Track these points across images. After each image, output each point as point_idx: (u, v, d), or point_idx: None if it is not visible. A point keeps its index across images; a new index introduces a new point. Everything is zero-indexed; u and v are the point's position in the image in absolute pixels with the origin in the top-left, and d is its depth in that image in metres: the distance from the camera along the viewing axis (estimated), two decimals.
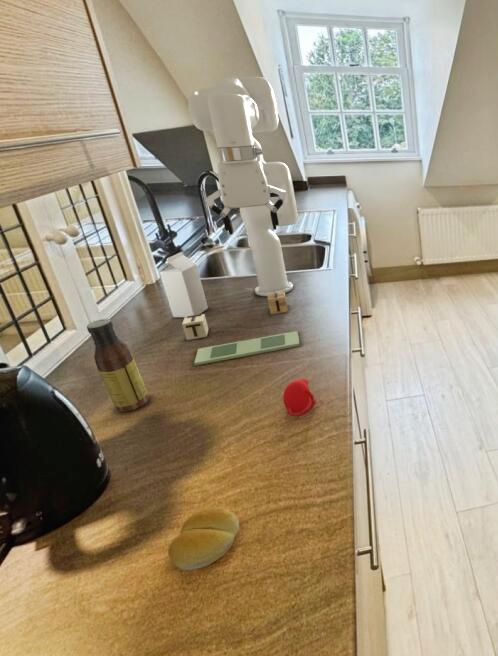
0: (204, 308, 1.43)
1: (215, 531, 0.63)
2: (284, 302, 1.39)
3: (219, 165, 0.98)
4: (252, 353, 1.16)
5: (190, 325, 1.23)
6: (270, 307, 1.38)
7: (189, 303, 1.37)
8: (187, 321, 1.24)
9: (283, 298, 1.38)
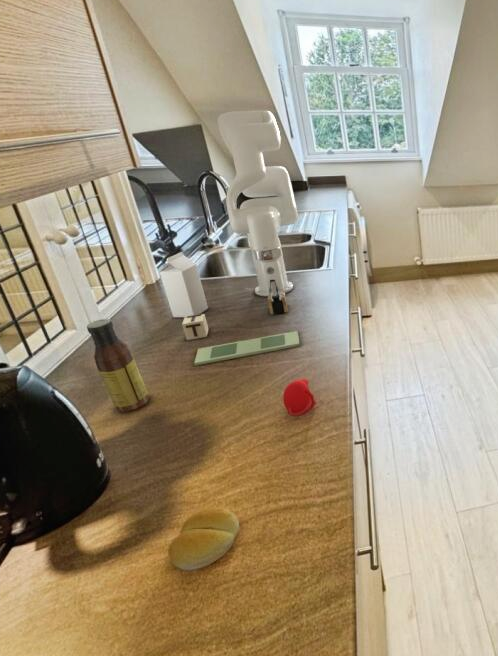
0: (204, 308, 1.43)
1: (215, 531, 0.63)
2: (284, 302, 1.39)
3: None
4: (252, 353, 1.16)
5: (190, 325, 1.23)
6: (270, 307, 1.38)
7: (189, 303, 1.37)
8: (187, 321, 1.24)
9: (283, 298, 1.38)
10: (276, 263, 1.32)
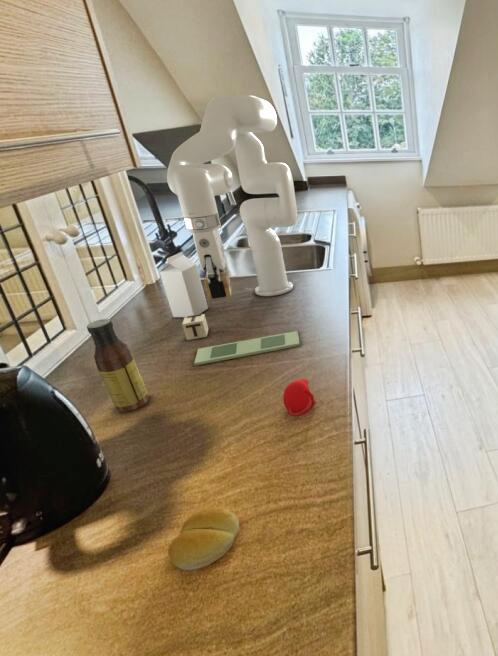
0: (204, 308, 1.43)
1: (215, 531, 0.63)
2: (226, 284, 1.12)
3: None
4: (252, 353, 1.16)
5: (190, 325, 1.23)
6: (207, 290, 1.11)
7: (189, 303, 1.36)
8: (187, 321, 1.24)
9: (224, 279, 1.11)
10: (212, 233, 1.05)
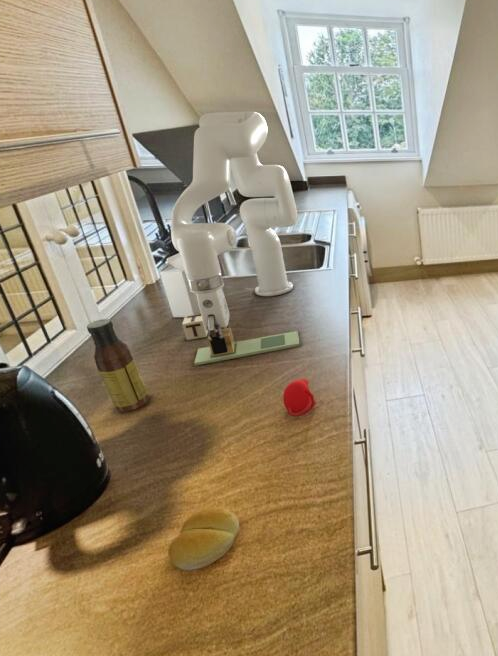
0: None
1: (215, 531, 0.63)
2: (229, 341, 1.14)
3: None
4: (252, 353, 1.16)
5: (190, 325, 1.23)
6: (211, 348, 1.13)
7: (189, 303, 1.36)
8: (187, 321, 1.24)
9: (227, 337, 1.13)
10: (215, 294, 1.07)
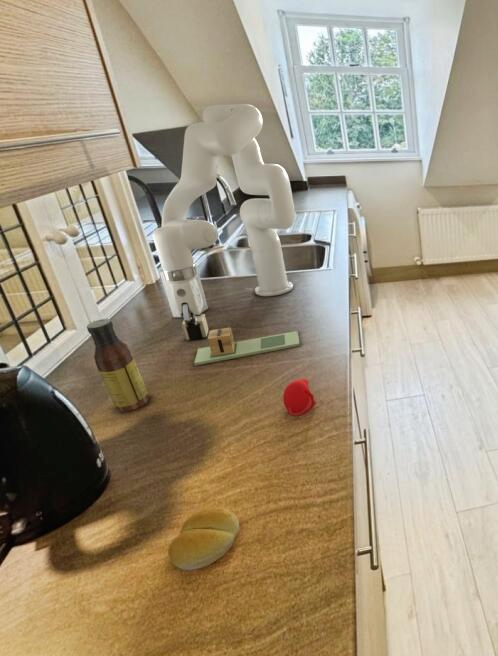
0: (204, 308, 1.43)
1: (215, 531, 0.63)
2: (229, 341, 1.14)
3: None
4: (252, 353, 1.16)
5: None
6: (211, 348, 1.13)
7: None
8: None
9: (227, 337, 1.13)
10: (188, 284, 1.18)
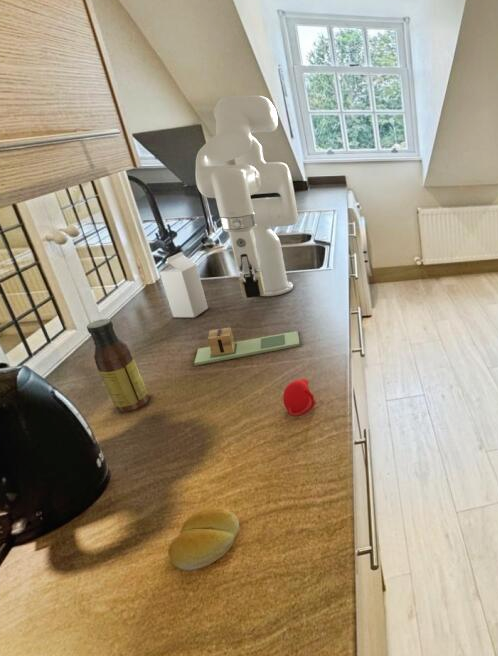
0: (204, 308, 1.43)
1: (215, 531, 0.63)
2: (229, 341, 1.14)
3: None
4: (252, 353, 1.16)
5: None
6: (211, 348, 1.13)
7: (189, 303, 1.36)
8: None
9: (227, 337, 1.13)
10: (248, 233, 1.06)
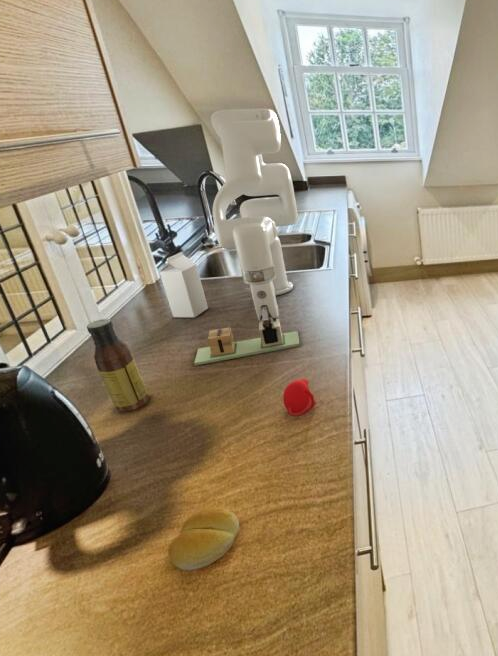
0: (204, 308, 1.43)
1: (215, 531, 0.63)
2: (229, 341, 1.14)
3: None
4: (252, 353, 1.16)
5: None
6: (211, 348, 1.13)
7: (189, 303, 1.36)
8: None
9: (227, 337, 1.13)
10: (268, 285, 1.11)
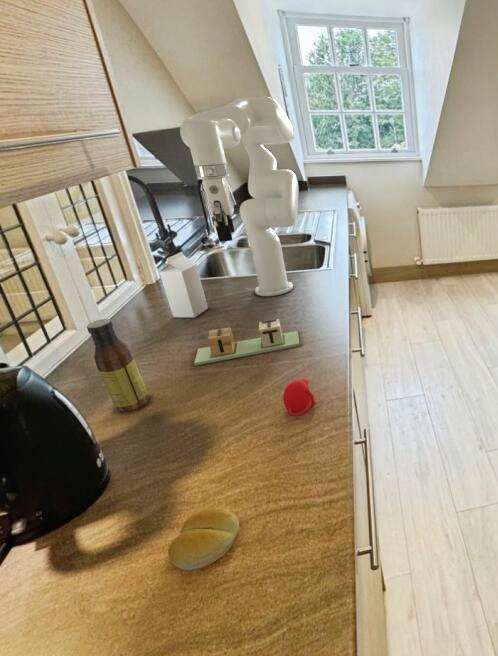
0: (204, 308, 1.43)
1: (215, 531, 0.63)
2: (229, 341, 1.14)
3: None
4: (252, 353, 1.16)
5: (267, 331, 1.16)
6: (211, 348, 1.13)
7: (189, 303, 1.36)
8: (263, 327, 1.17)
9: (227, 337, 1.13)
10: (221, 181, 1.14)
